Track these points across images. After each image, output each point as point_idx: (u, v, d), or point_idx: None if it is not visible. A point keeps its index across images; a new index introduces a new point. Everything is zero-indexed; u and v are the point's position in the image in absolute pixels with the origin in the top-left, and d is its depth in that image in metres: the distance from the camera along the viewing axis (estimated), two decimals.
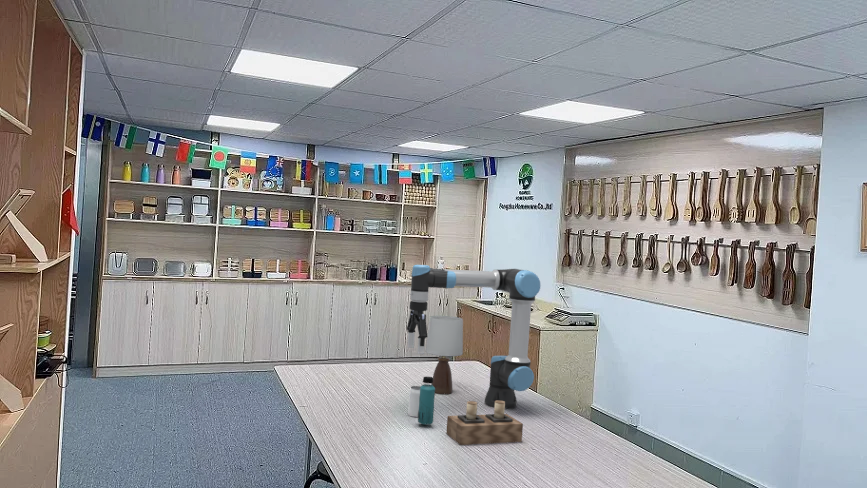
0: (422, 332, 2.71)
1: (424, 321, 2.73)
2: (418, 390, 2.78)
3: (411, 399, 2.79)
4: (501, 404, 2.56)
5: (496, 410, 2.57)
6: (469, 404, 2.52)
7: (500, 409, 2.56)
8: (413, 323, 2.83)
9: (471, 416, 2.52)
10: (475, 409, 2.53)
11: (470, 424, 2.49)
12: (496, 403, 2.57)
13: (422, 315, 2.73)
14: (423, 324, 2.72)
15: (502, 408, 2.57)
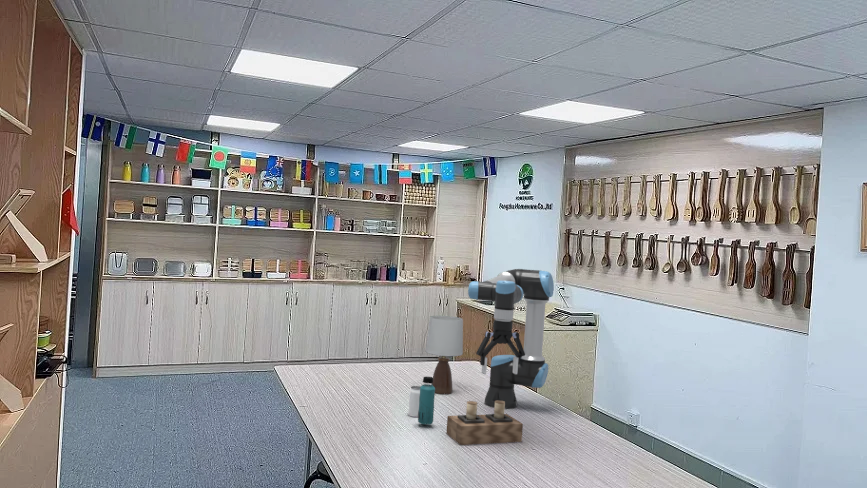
0: (478, 349, 2.56)
1: (485, 339, 2.55)
2: (418, 390, 2.78)
3: (411, 399, 2.79)
4: (501, 404, 2.56)
5: (496, 410, 2.57)
6: (469, 404, 2.52)
7: (500, 409, 2.56)
8: (509, 345, 2.60)
9: (471, 416, 2.52)
10: (475, 409, 2.53)
11: (470, 424, 2.49)
12: (496, 403, 2.57)
13: (486, 332, 2.56)
14: (483, 342, 2.56)
15: (502, 408, 2.57)
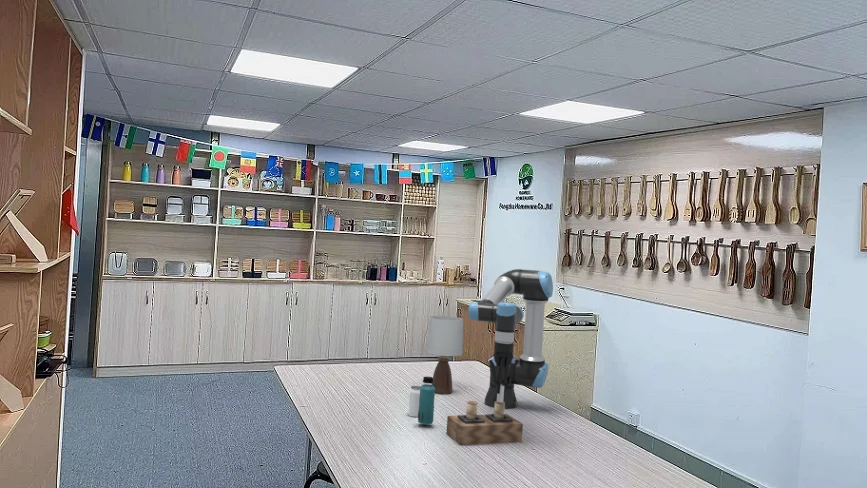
0: (491, 378, 2.57)
1: (491, 367, 2.56)
2: (418, 390, 2.78)
3: (411, 399, 2.79)
4: (501, 405, 2.56)
5: (496, 411, 2.57)
6: (469, 404, 2.52)
7: (500, 410, 2.56)
8: (503, 369, 2.59)
9: (471, 416, 2.52)
10: (475, 409, 2.53)
11: (470, 424, 2.49)
12: (496, 404, 2.57)
13: (488, 361, 2.56)
14: (491, 371, 2.56)
15: (502, 409, 2.57)
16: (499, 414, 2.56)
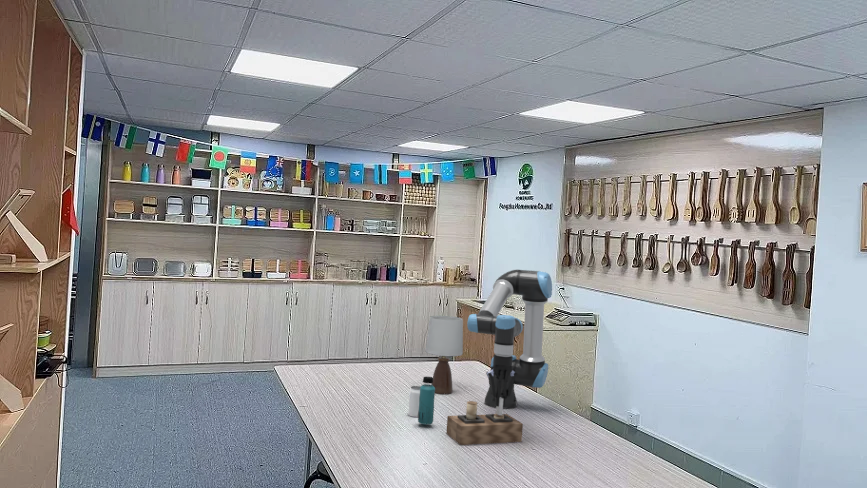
0: (490, 391, 2.58)
1: (490, 380, 2.56)
2: (418, 390, 2.78)
3: (411, 399, 2.79)
4: (500, 417, 2.56)
5: None
6: (469, 404, 2.52)
7: None
8: (502, 381, 2.59)
9: (471, 416, 2.52)
10: (475, 409, 2.53)
11: (470, 424, 2.49)
12: (495, 416, 2.57)
13: (487, 374, 2.56)
14: (490, 383, 2.56)
15: None
16: None
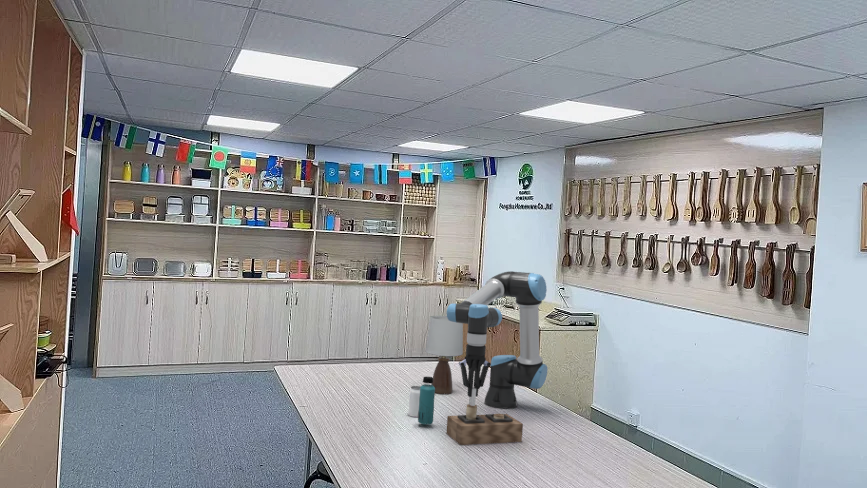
0: (463, 381, 2.53)
1: (462, 370, 2.52)
2: (418, 390, 2.78)
3: (411, 399, 2.79)
4: (500, 417, 2.56)
5: None
6: (469, 407, 2.52)
7: None
8: (475, 371, 2.55)
9: (471, 419, 2.52)
10: (475, 412, 2.53)
11: (470, 424, 2.49)
12: (495, 416, 2.57)
13: (459, 364, 2.52)
14: (462, 373, 2.52)
15: None
16: None
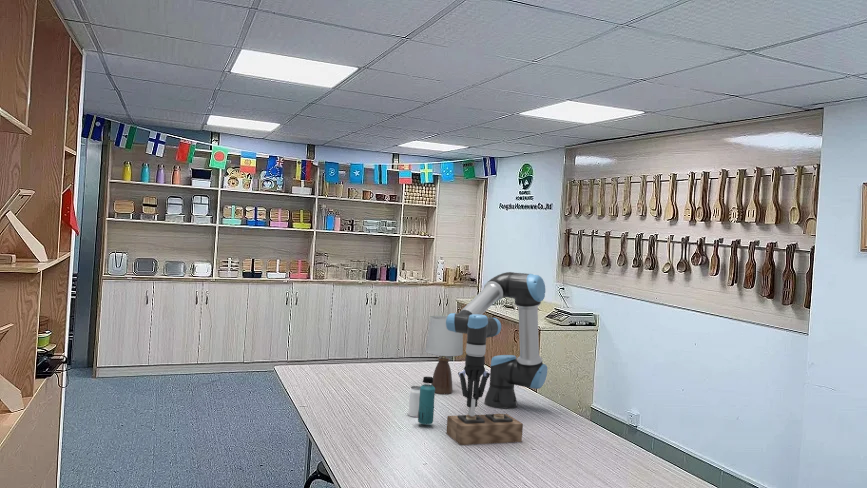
0: (462, 391, 2.53)
1: (462, 380, 2.52)
2: (418, 390, 2.78)
3: (411, 399, 2.79)
4: (500, 417, 2.56)
5: None
6: (468, 417, 2.53)
7: None
8: (474, 382, 2.55)
9: None
10: None
11: (470, 424, 2.49)
12: (495, 416, 2.57)
13: (459, 374, 2.52)
14: (462, 384, 2.52)
15: None
16: None
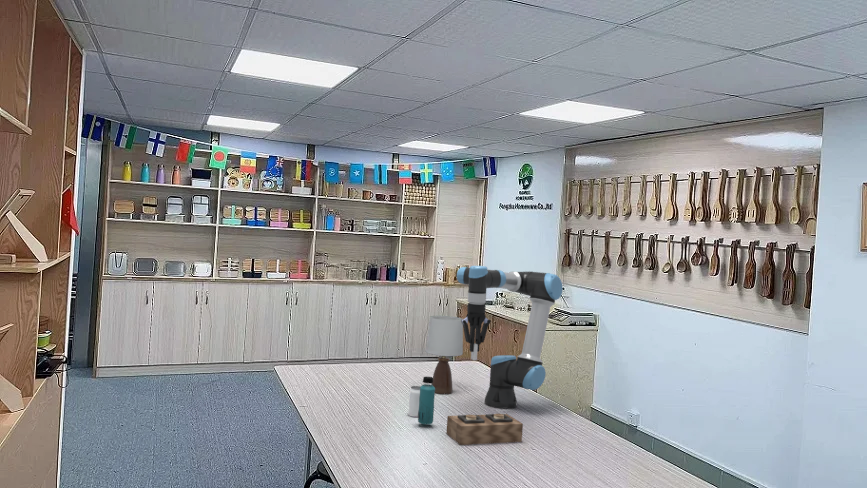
0: (465, 337, 2.72)
1: (464, 327, 2.70)
2: (418, 390, 2.78)
3: (411, 399, 2.79)
4: (500, 417, 2.56)
5: None
6: (468, 418, 2.53)
7: None
8: (476, 328, 2.73)
9: None
10: None
11: (470, 424, 2.49)
12: (495, 416, 2.57)
13: (462, 321, 2.70)
14: (465, 330, 2.71)
15: None
16: None
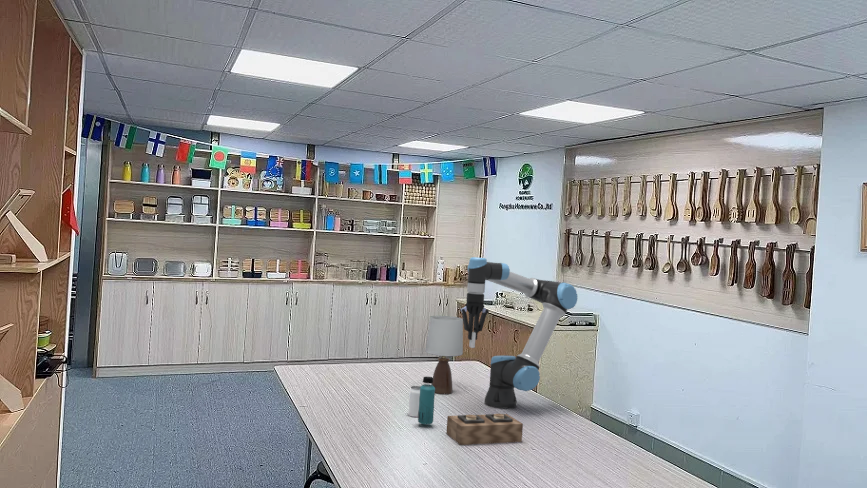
0: (464, 326, 2.83)
1: (463, 315, 2.81)
2: (418, 390, 2.78)
3: (411, 399, 2.79)
4: (500, 417, 2.56)
5: None
6: (468, 418, 2.53)
7: None
8: (474, 317, 2.84)
9: None
10: None
11: (470, 424, 2.49)
12: (495, 416, 2.57)
13: (461, 310, 2.82)
14: (463, 319, 2.82)
15: None
16: None
